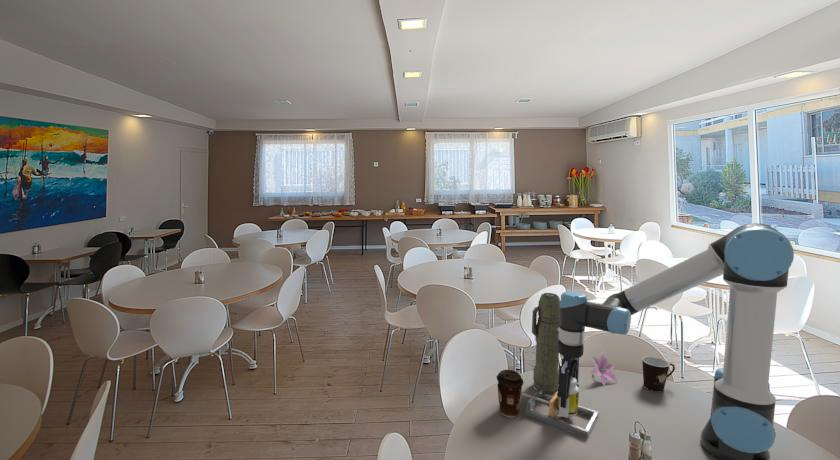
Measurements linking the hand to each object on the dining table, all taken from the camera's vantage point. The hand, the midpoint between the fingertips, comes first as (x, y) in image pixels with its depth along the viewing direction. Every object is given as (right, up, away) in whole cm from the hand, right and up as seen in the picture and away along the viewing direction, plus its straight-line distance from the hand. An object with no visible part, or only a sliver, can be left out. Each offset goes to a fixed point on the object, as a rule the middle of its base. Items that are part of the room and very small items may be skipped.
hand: (566, 410), depth 124 cm
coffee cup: (-18, -2, +4) cm, 18 cm away
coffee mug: (+41, -1, +19) cm, 45 cm away
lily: (+23, 0, +25) cm, 33 cm away
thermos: (-1, 0, +19) cm, 19 cm away
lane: (-1, -2, +1) cm, 3 cm away
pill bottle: (0, -1, 0) cm, 1 cm away
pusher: (-8, -1, +6) cm, 10 cm away
